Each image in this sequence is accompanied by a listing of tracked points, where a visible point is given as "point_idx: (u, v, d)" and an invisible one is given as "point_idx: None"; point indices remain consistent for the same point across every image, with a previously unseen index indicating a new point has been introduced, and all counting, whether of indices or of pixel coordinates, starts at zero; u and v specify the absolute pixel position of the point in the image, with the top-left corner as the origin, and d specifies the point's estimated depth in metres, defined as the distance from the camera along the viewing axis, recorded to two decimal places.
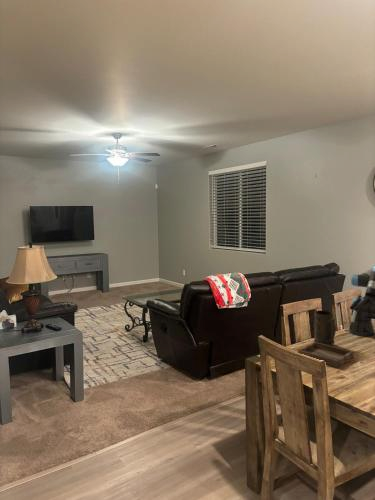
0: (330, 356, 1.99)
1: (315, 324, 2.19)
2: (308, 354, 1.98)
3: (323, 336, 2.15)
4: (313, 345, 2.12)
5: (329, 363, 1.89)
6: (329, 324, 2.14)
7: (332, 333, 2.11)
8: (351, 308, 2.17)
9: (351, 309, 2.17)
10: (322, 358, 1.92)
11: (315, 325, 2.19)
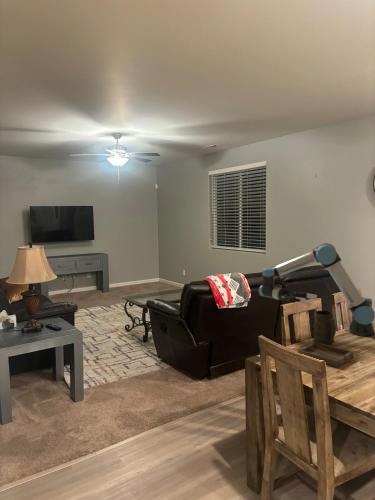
0: (330, 356, 1.99)
1: (315, 324, 2.19)
2: (308, 354, 1.98)
3: (323, 336, 2.15)
4: (313, 345, 2.12)
5: (329, 363, 1.89)
6: (329, 324, 2.14)
7: (332, 333, 2.11)
8: None
9: None
10: (322, 358, 1.92)
11: (315, 325, 2.19)
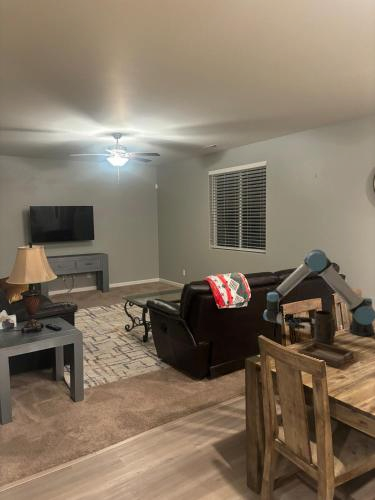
0: (330, 356, 1.99)
1: (315, 324, 2.19)
2: (308, 354, 1.98)
3: (323, 336, 2.15)
4: (313, 345, 2.12)
5: (329, 363, 1.89)
6: (329, 324, 2.14)
7: (332, 333, 2.11)
8: None
9: None
10: (322, 358, 1.92)
11: (315, 325, 2.19)
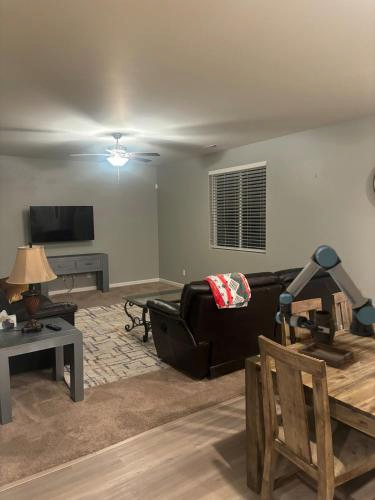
0: (330, 356, 1.99)
1: (315, 324, 2.19)
2: (308, 354, 1.98)
3: (323, 336, 2.15)
4: (313, 345, 2.12)
5: (329, 363, 1.89)
6: (329, 324, 2.14)
7: (332, 333, 2.10)
8: None
9: None
10: (322, 358, 1.92)
11: (315, 325, 2.19)
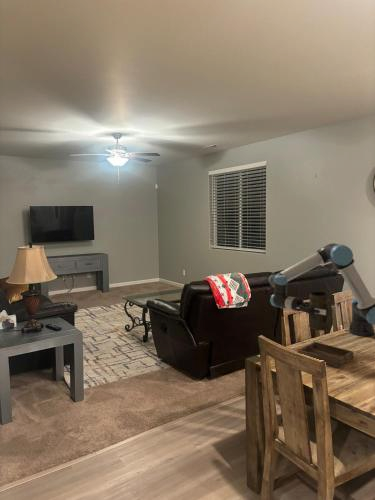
0: (330, 356, 1.99)
1: (310, 306, 2.05)
2: (308, 354, 1.98)
3: (318, 319, 2.00)
4: (313, 345, 2.12)
5: (329, 363, 1.89)
6: (325, 306, 2.00)
7: (328, 315, 1.96)
8: None
9: None
10: (322, 358, 1.92)
11: None
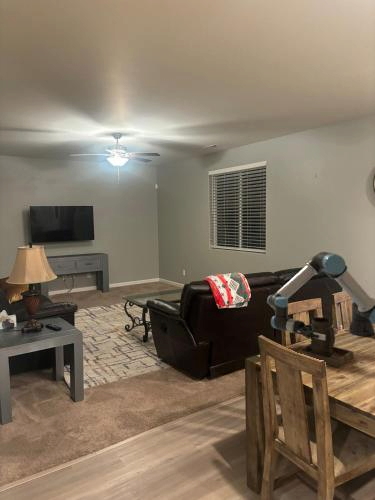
0: (330, 356, 1.99)
1: None
2: (308, 354, 1.98)
3: (321, 345, 1.98)
4: None
5: (329, 363, 1.89)
6: (328, 332, 1.97)
7: (331, 342, 1.94)
8: None
9: None
10: (322, 358, 1.92)
11: None
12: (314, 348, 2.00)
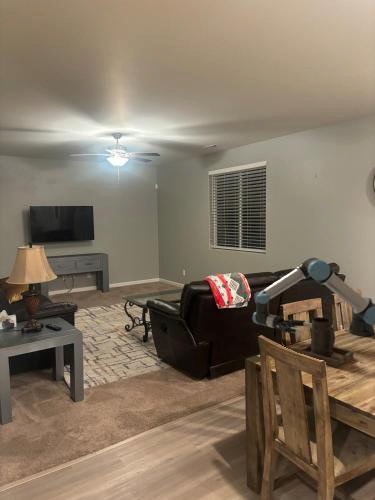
0: (330, 356, 1.99)
1: (312, 333, 2.02)
2: (308, 354, 1.98)
3: (321, 345, 1.98)
4: None
5: (329, 363, 1.89)
6: (328, 332, 1.97)
7: (331, 342, 1.94)
8: None
9: None
10: (322, 358, 1.92)
11: (312, 333, 2.02)
12: (314, 348, 2.00)
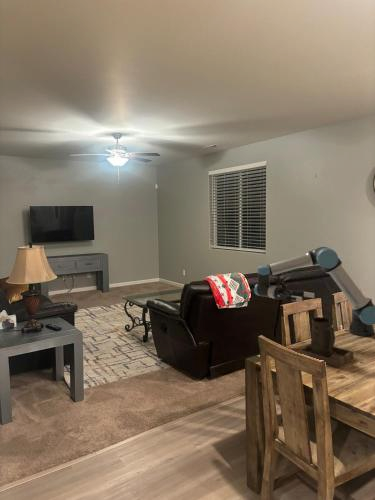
0: (330, 356, 1.99)
1: (312, 333, 2.02)
2: (308, 354, 1.98)
3: (321, 345, 1.98)
4: None
5: (329, 363, 1.89)
6: (328, 332, 1.97)
7: (331, 342, 1.94)
8: None
9: None
10: (322, 358, 1.92)
11: (312, 333, 2.02)
12: (314, 348, 2.00)
